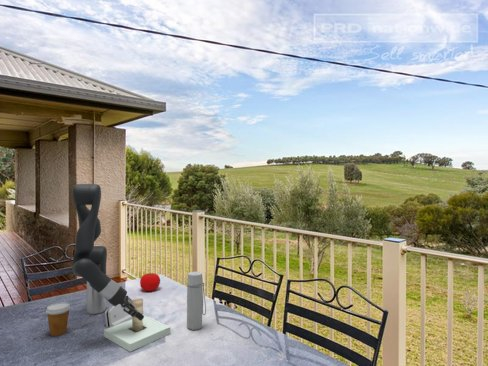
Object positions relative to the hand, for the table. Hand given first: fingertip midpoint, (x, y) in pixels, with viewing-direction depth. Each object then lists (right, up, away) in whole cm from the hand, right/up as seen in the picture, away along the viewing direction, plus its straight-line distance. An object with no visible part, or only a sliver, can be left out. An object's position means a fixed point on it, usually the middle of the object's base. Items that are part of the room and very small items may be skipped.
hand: (142, 316), depth 144 cm
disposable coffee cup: (-38, -8, +1) cm, 38 cm away
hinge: (-14, -8, +14) cm, 21 cm away
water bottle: (+23, -8, +8) cm, 26 cm away
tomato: (-13, -8, +59) cm, 61 cm away
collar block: (-2, -8, -1) cm, 8 cm away
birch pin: (-2, -6, -1) cm, 7 cm away
